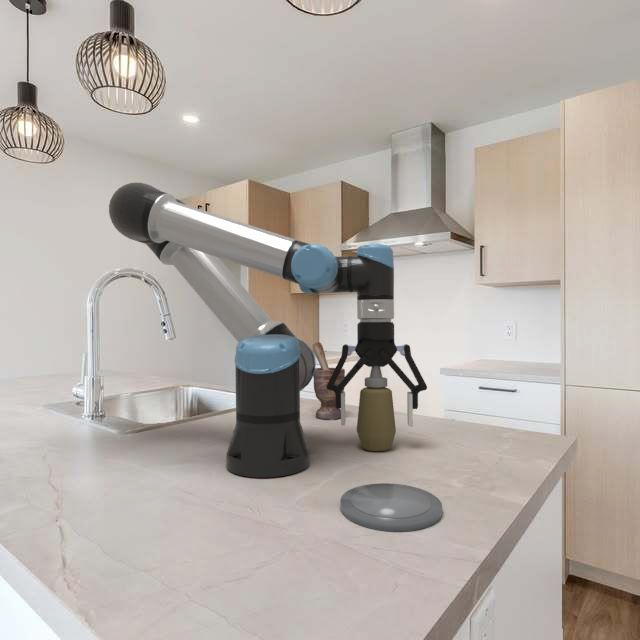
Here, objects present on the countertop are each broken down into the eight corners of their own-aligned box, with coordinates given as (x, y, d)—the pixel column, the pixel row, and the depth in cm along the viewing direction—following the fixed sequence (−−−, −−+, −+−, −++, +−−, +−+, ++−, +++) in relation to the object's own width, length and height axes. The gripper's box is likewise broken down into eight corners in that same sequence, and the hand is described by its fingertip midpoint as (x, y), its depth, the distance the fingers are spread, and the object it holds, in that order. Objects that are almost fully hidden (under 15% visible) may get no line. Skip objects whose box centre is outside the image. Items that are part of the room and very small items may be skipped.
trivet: (337, 529, 58) (337, 520, 58) (342, 488, 72) (342, 481, 72) (451, 533, 57) (451, 524, 57) (433, 491, 71) (433, 484, 71)
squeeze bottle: (392, 442, 98) (391, 358, 98) (400, 453, 90) (399, 362, 90) (354, 443, 98) (354, 358, 98) (359, 454, 90) (358, 362, 90)
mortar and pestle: (298, 415, 126) (298, 343, 126) (319, 411, 132) (318, 341, 132) (331, 422, 118) (330, 344, 118) (351, 416, 125) (350, 343, 125)
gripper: (313, 321, 92) (314, 428, 92) (440, 320, 89) (441, 429, 89) (316, 321, 99) (317, 419, 99) (434, 320, 97) (435, 421, 97)
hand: (376, 424), depth 94 cm, fingers open, 13 cm apart
